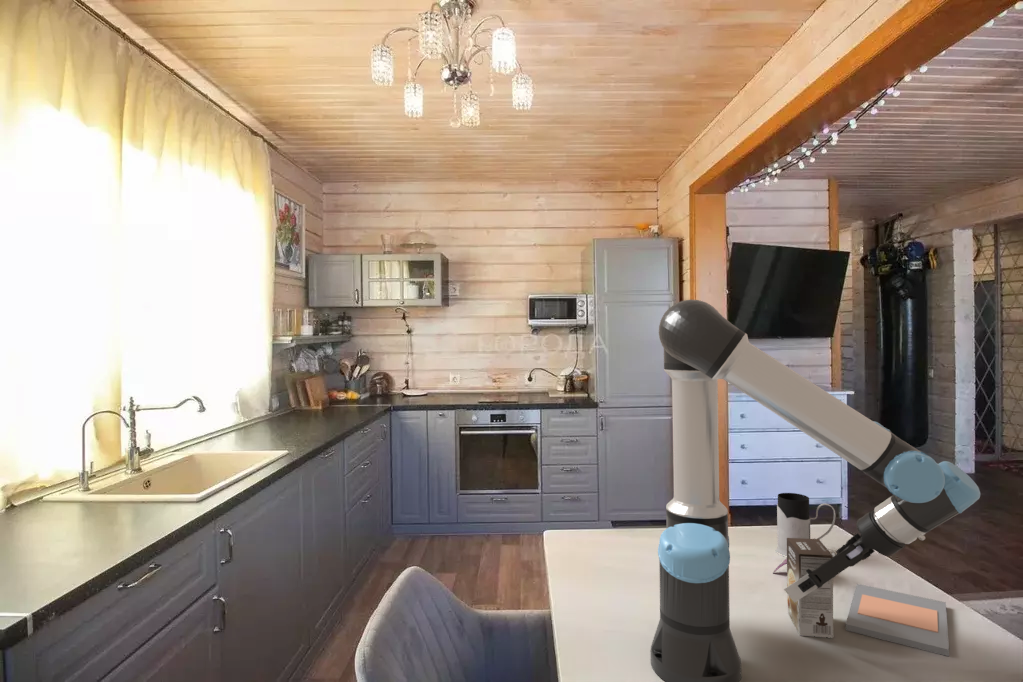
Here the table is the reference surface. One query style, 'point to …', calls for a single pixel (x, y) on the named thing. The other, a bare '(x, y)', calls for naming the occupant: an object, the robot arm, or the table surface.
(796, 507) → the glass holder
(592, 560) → the table surface
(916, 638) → the slate plate
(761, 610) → the table surface
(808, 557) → the coffee box
